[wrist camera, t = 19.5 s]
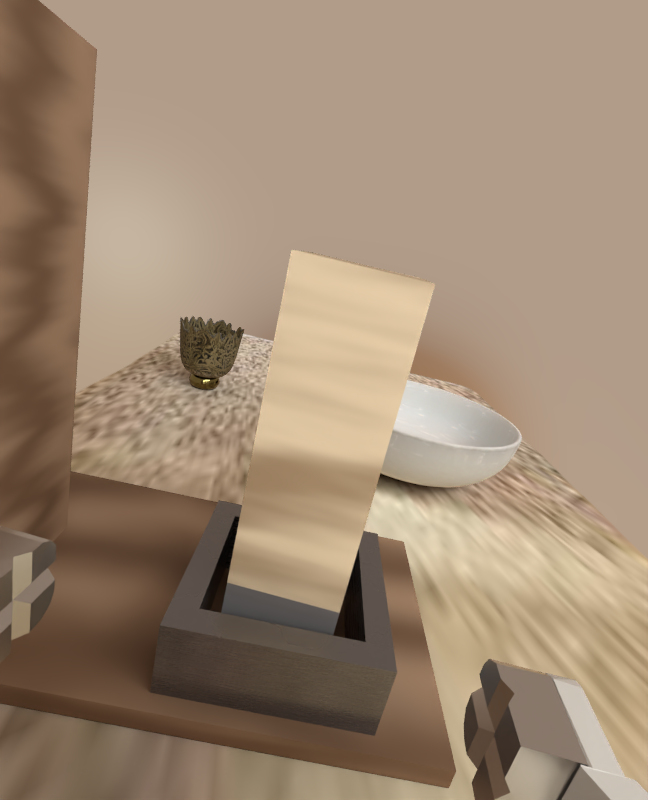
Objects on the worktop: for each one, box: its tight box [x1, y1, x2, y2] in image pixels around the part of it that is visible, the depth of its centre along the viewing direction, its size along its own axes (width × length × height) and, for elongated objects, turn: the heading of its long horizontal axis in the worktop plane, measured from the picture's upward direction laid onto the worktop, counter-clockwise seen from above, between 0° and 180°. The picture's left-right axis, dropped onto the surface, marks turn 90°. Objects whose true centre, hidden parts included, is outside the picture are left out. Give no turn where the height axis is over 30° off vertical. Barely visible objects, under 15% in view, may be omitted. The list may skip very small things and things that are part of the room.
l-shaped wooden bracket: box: [0, 0, 456, 788], centre depth 22 cm, size 16×26×25 cm, turn 88°
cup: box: [180, 317, 244, 390], centre depth 57 cm, size 8×7×8 cm
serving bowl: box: [380, 380, 522, 487], centre depth 49 cm, size 21×21×7 cm
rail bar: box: [221, 250, 435, 635], centre depth 21 cm, size 5×5×18 cm
